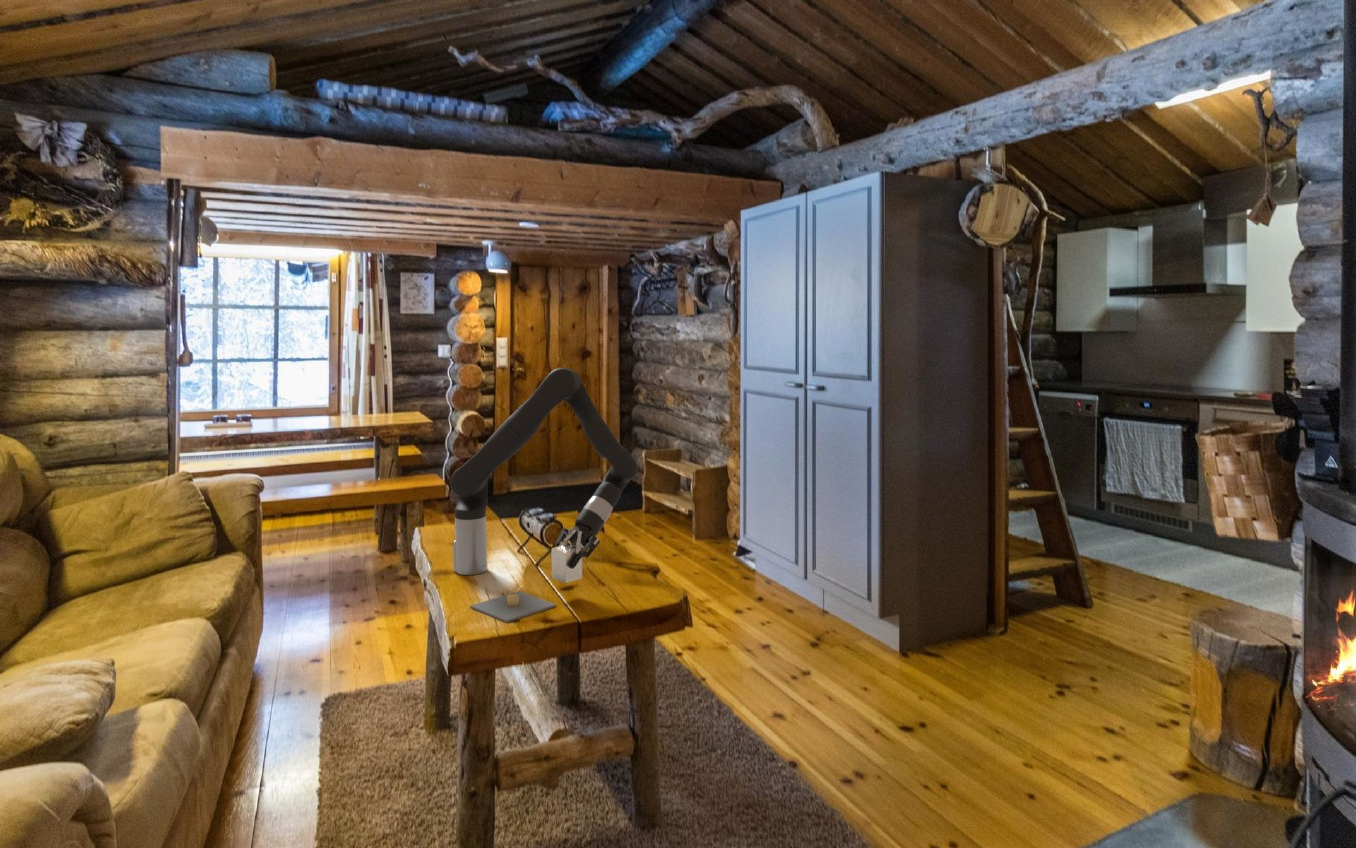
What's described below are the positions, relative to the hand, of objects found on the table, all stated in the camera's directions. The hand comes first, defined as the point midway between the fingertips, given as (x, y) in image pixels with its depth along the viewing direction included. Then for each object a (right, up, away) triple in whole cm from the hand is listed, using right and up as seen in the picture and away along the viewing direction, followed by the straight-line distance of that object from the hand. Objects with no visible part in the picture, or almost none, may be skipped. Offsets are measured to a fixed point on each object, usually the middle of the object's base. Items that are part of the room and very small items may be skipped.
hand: (562, 564), depth 212 cm
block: (+1, -4, +2) cm, 5 cm away
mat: (-12, -10, -7) cm, 17 cm away
